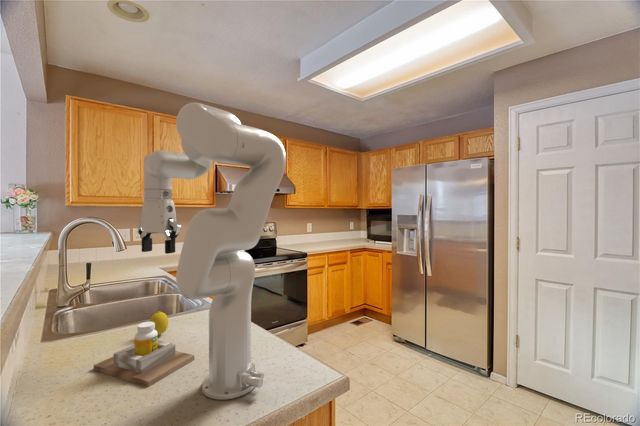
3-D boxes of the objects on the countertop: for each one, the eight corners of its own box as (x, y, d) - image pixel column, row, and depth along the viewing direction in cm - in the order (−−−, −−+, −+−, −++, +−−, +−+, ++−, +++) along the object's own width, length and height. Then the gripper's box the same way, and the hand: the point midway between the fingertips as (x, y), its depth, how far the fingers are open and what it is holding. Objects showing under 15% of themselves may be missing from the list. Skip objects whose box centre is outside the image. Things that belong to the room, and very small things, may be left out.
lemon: (160, 339, 97) (160, 314, 97) (145, 338, 99) (145, 313, 99) (172, 333, 103) (171, 309, 103) (157, 331, 104) (157, 308, 104)
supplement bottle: (138, 356, 84) (138, 321, 84) (160, 354, 85) (160, 319, 85) (131, 366, 79) (131, 328, 79) (154, 363, 80) (154, 327, 80)
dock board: (194, 359, 85) (194, 344, 85) (148, 386, 72) (148, 368, 72) (143, 347, 92) (143, 333, 92) (93, 369, 79) (93, 353, 79)
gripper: (189, 195, 94) (189, 252, 94) (148, 196, 100) (149, 249, 100) (168, 194, 87) (169, 255, 87) (126, 196, 93) (127, 252, 93)
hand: (158, 252), depth 94 cm, fingers open, 9 cm apart
